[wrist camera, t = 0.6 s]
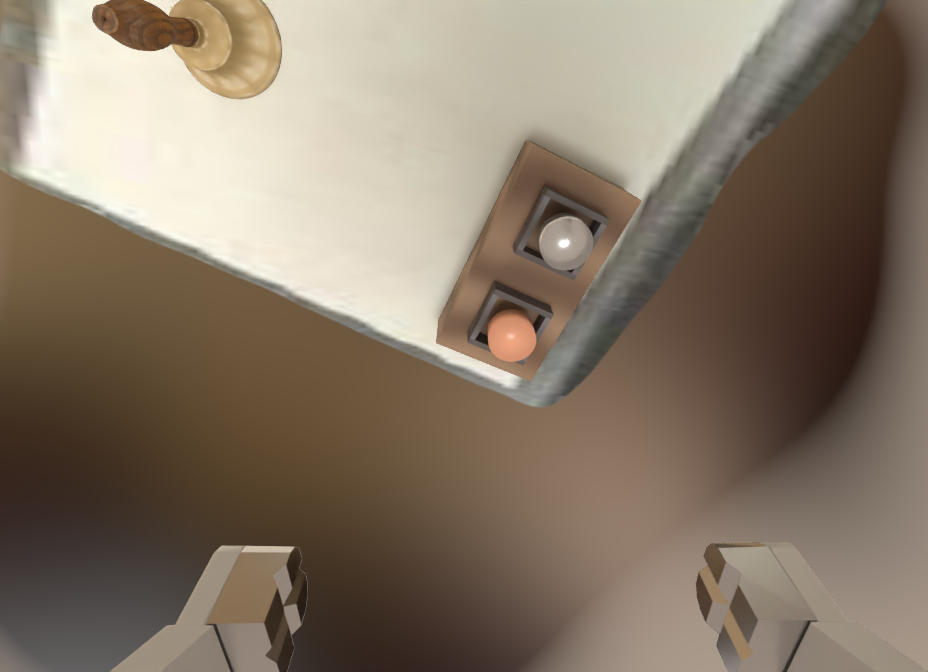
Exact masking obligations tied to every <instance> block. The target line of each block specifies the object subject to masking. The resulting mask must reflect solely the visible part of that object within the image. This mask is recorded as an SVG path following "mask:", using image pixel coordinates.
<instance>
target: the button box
mask: <svg viewBox="0 0 928 672" xmlns="http://www.w3.org/2000/svg"><path fill="white" fill-rule="evenodd" d="M640 203H641V200H639V199H638V198H636V197H635V196H633V195H632V194H630V193H629V192H627V191H626V190H624V189H622V188H620V187H618V186H616V185H614V184H612V183H610V182H608V181H606V180H604V179H602V178H600V177H599V176H597V175H595V174H593V173H591V172H589V171H587V170H585V169H583V168H581V167H579V166H577V165H575V164H573V163H571V162H569V161H567V160H565V159H563V158H561V157H559V156H557V155H555V154H553V153H551V152H549V151H547V150H546V149H544V148H542V147H540V146H538V145H536V144H534V143H532V142H530V141H528V140H526V141H525V143H524V145H523V147H522V149H521V151H520V153H519V155H518V157H517V160H516V162H515V164H514V166H513V168H512V170H511V172H510V174H509V176H508V178H507V180H506V182H505V184H504V186H503V188H502V190H501V193H500V195H499V197H498V199H497V201H496V203H495V205H494V207H493V209H492V211H491V213H490V215H489V217H488V219H487V221H486V223H485V225H484V228H483V230H482V232H481V234H480V236H479V238H478V240H477V242H476V244H475V246H474V248H473V250H472V252H471V254H470V256H469V258H468V260H467V263H466V265H465V267H464V269H463V271H462V273H461V275H460V277H459V279H458V281H457V283H456V285H455V287H454V289H453V291H452V293H451V296H450V298H449V300H448V302H447V304H446V306H445V308H444V310H443V312H442V314H441V316H440V318H439V320H438V329H437V339H436V343H438V344H440V345H442V346H445V347H447V348H450V349H452V350H455V351H457V352H460V353H462V354H465V355H467V356H470V357H472V358H475V359H477V360H479V361H482V362H484V363H487V364H489V365H492V366H494V367H497V368H499V369H502V370H504V371H507V372H509V373H511V374H514V375H516V376H519V377H521V378H524V379H526V380H529V381H531V380H532V378H533V377H534V375H535V373H536V372H537V370H538V368H539V367H540V365H541V364H542V362H543V360H544V359H545V357H546V355H547V354H548V352H549V351H550V349H551V347H552V346H553V344H554V342H555V341H556V339H557V338H558V336H559V334H560V333H561V331H562V329H563V328H564V326H565V325H566V323H567V321H568V320H569V318H570V316H571V315H572V313H573V312H574V310H575V308H576V307H577V305H578V303H579V302H580V300H581V299H582V297H583V295H584V294H585V292H586V290H587V289H588V287H589V286H590V284H591V282H592V281H593V279H594V277H595V276H596V274H597V273H598V271H599V269H600V268H601V266H602V264H603V263H604V261H605V260H606V258H607V256H608V255H609V253H610V251H611V250H612V248H613V247H614V245H615V243H616V242H617V240H618V238H619V237H620V235H621V234H622V232H623V230H624V229H625V227H626V225H627V224H628V222H629V221H630V219H631V217H632V216H633V214H634V212H635V211H636V209H637V208H638V206H639V204H640ZM559 213H570V214H573V215H576V216H577V217H579V218H580V219H581V220H582V221H583V222H584V223H585V224H586V226H587V227H588V228H589V229H590V231H591V233H592V236H593V249H592V252H591V254H590V256H589V258H588V259H587V260H586V261H585V262H584V263H583V264H582V265H581V266H579V267H577V268H575V269H572V270H557V269H555V268H553V267H551V266H549V265H548V264H547V263H546V262H545V260H544V259H543V257H542V255H541V252H540V250H539V248H538V244H537V235H538V232H539V229H540V227H541V226H542V224H543V223H544V222H545V221H546V220H547V219H548V218H550V217H551V216H553V215H556V214H559ZM508 309H515V310H519V311H522V312H524V313H525V314H526V315H527V316H528V317H529V318H530V319H531V321H532V323H533V327H534V330H535V334H536V345H535V348H534V350H533V351H532V353H531V354H530V355H529V356H527V357H526V358H524V359H522V360H520V361H515V362H507V361H503V360H501V359H499V358H497V357H496V356H495V355H494V354H493V353H492V352H491V350H490V348H489V344H488V333H487V329H488V324H489V322H490V320H491V319H492V318H493V317H494V316H495V315H496V314H497V313H499V312H501V311H503V310H508Z"/></svg>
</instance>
